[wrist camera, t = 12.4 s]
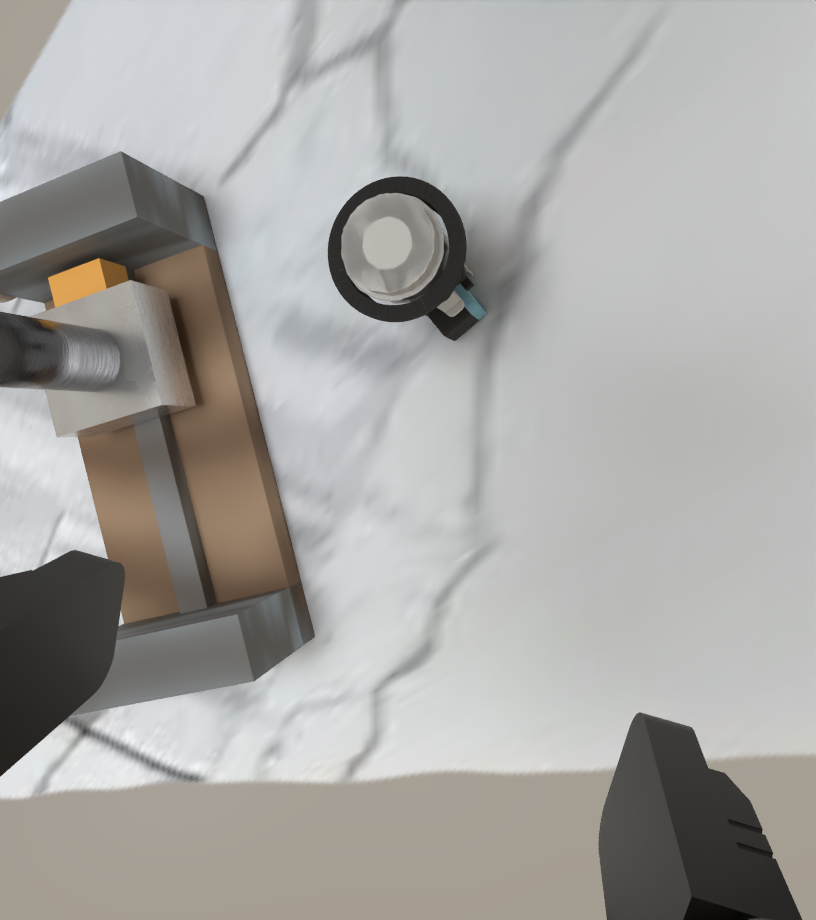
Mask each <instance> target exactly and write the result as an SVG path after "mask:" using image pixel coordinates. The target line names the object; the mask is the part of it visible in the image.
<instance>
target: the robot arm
mask: <svg viewBox="0 0 816 920" xmlns="http://www.w3.org/2000/svg"><path fill="white" fill-rule="evenodd" d="M124 583H125V571H124V567H123V565H122V564H121V563H119V562H115V561H112V560H108V559H105V558H101V557H98V556H94V555H91V554H87V553H84V552H80V551H76V550H74V551H70V552H68V553H66V554H64V555H62V556H60V557H58V558H57V559H55V560H53V561H51V562H49V563H47V564H45V565H43V566H41V567H39V568H37V569H35V570H34V571H32V570H30V571H25V572H21V573H16V574H12V575H8V576H3V577H0V776H1V775H3V774H4V773H5V772H6V771H7V770H8V769H9V768H11V767H12V766H13V765H14V764H15V763H16V762H17V761H19V760H20V759H21V758H22V757H23V756H24V755H25V754H27V753H28V752H29V751H30V750H31V749H32V748H33V747H35V746H36V745H37V744H38V743H39V742H40V741H41V740H43V739H44V738H45V737H46V736H47V735H48V734H49V733H51V732H52V731H53V730H54V729H55V728H56V727H57V726H59V725H60V724H61V723H62V722H63V721H64V720H65V719H67V718H68V717H69V716H70V715H71V714H72V713H73V712H75V711H76V710H77V709H78V708H79V707H80V706H81V705H83V704H84V703H85V702H86V701H87V700H88V699H89V698H91V697H92V696H93V695H94V694H95V693H96V692H97V690H98V689H99V688H100V687H101V685H102V684H103V682H104V680H105V678H106V676H107V674H108V672H109V670H110V667H111V664H112V661H113V657H114V652H115V645H116V638H117V631H118V624H119V618H120V611H121V604H122V597H123V590H124ZM772 855H773V852H772V850H771V847H770V845H769V843H768V841H767V838H766V836H765V835H763V834H762V827H761V825H760V822H759V820H758V818H757V815H756V813H755V811H754V809H753V807H752V804H751V802H750V800H749V799H748V798H747V797H746V796H745V795H744V794H743V793H742V792H741V791H740V789H739V788H738V787H737V786H736V785H735V784H734V783H733V782H732V781H731V780H730V778H729V777H728V776H727V775H726V774H725V773H722V772H719V771H715V770H712V769H709V768H708V766H707V764H706V761H705V758H704V756H703V753H702V751H701V748H700V745H699V743H698V740H697V737H696V735H695V732H694V730H693V729H692V727H689V726H686V725H682V724H679V723H675V722H672V721H668V720H665V719H661V718H658V717H654V716H651V715H647V714H644V713H638V714H636V716H635V717H634V719H633V721H632V723H631V725H630V728H629V731H628V734H627V737H626V740H625V743H624V746H623V750H622V753H621V756H620V759H619V762H618V765H617V768H616V771H615V774H614V777H613V780H612V783H611V786H610V789H609V792H608V796H607V798H606V802H605V805H604V809H603V813H602V818H601V823H600V831H599V856H600V865H601V873H602V882H603V890H604V899H605V907H606V915H607V920H802V918H801V916H800V913H799V911H798V909H797V907H796V904H795V902H794V900H793V898H792V895H791V893H790V891H789V888H788V886H787V884H786V882H785V879H784V877H783V875H782V872H781V870H780V868H779V866H778V863H777V861H776V859H773V858H772Z"/></svg>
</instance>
